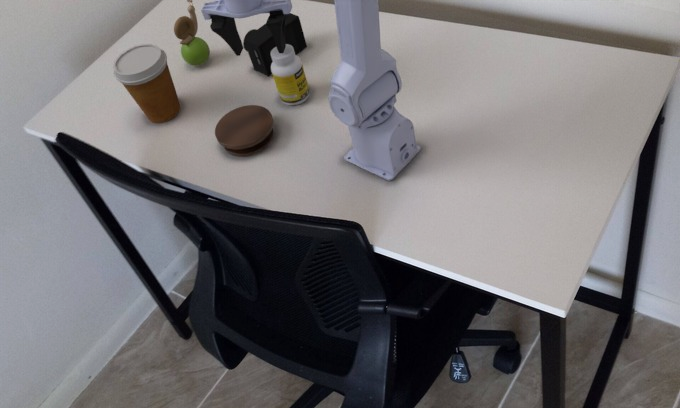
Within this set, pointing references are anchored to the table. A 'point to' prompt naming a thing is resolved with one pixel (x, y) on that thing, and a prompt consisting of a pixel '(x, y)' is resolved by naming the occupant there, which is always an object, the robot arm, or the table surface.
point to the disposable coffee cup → (148, 81)
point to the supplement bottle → (289, 76)
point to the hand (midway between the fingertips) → (261, 50)
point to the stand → (245, 130)
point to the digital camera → (272, 43)
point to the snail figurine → (191, 39)
